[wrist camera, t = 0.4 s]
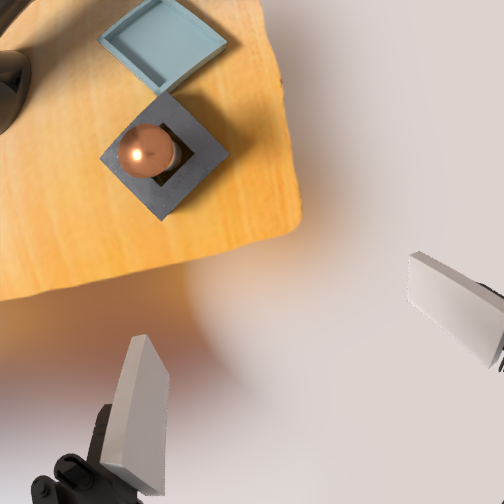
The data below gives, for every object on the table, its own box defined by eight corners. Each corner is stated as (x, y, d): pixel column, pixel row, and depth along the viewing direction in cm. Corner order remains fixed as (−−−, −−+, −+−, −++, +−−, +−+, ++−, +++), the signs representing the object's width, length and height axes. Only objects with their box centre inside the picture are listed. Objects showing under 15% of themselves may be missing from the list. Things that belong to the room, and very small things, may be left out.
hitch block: (110, 158, 31) (99, 158, 27) (169, 97, 30) (165, 89, 26) (166, 215, 34) (161, 221, 31) (227, 155, 33) (230, 154, 30)
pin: (142, 156, 32) (107, 153, 19) (167, 130, 31) (145, 112, 19) (166, 180, 33) (143, 189, 21) (191, 155, 33) (182, 149, 20)
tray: (102, 45, 25) (96, 39, 23) (162, -2, 24) (160, -10, 22) (161, 100, 30) (158, 96, 27) (225, 49, 29) (227, 41, 26)
